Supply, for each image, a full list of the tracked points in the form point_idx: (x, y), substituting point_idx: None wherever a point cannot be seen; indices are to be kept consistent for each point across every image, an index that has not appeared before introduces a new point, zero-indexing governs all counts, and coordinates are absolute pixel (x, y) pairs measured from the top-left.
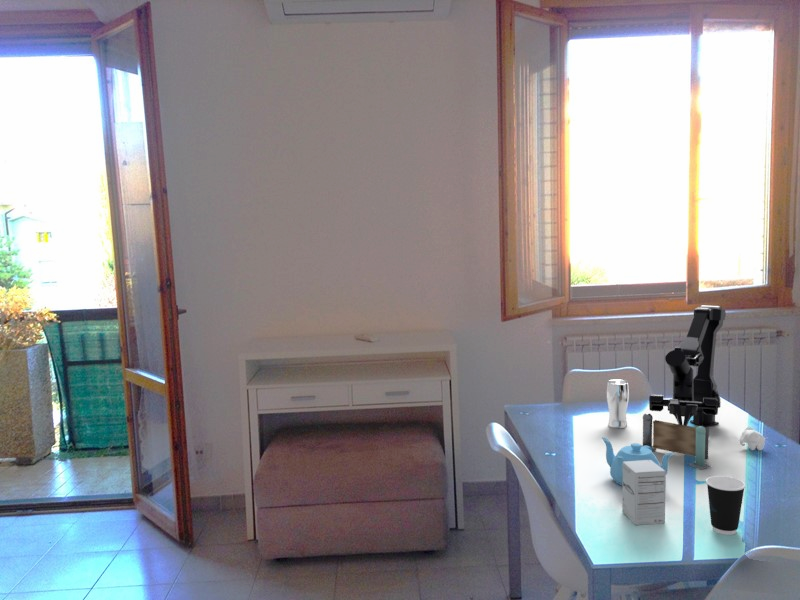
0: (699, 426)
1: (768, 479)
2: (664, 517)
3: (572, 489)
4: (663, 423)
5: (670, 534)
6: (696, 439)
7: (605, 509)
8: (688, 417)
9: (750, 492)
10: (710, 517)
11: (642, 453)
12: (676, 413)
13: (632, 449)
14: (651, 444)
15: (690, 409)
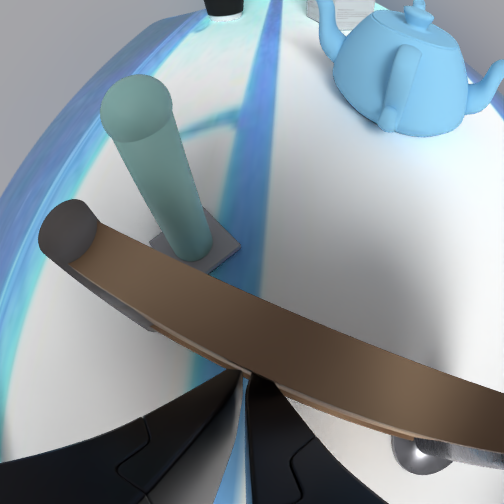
0: (135, 77)
1: (36, 189)
2: (307, 8)
3: (474, 82)
4: (454, 378)
5: (297, 7)
6: (181, 143)
7: None
8: (135, 422)
9: None
10: (243, 2)
11: (391, 14)
12: (349, 473)
13: (428, 30)
14: None
15: (21, 478)
